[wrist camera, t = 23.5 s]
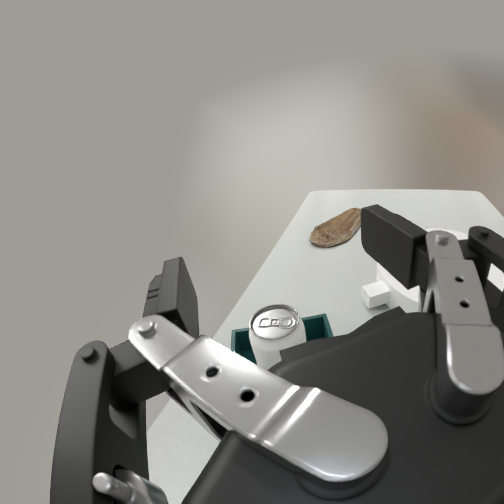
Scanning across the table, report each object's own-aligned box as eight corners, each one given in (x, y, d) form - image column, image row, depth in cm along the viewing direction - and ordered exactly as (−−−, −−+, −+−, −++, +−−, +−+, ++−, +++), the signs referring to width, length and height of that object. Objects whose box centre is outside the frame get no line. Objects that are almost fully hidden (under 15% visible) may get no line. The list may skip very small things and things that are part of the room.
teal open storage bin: (238, 428, 31) (227, 411, 28) (239, 351, 43) (231, 330, 41) (348, 410, 30) (350, 391, 27) (326, 336, 42) (325, 313, 40)
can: (307, 400, 32) (300, 342, 27) (259, 397, 34) (238, 340, 29) (312, 363, 38) (306, 300, 32) (269, 362, 39) (252, 301, 34)
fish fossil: (342, 207, 86) (342, 204, 85) (372, 213, 80) (372, 209, 79) (303, 243, 69) (302, 239, 69) (340, 252, 63) (340, 248, 63)
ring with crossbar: (355, 310, 46) (355, 289, 43) (395, 238, 63) (395, 220, 61) (501, 346, 28) (512, 325, 26) (497, 257, 45) (501, 239, 43)
